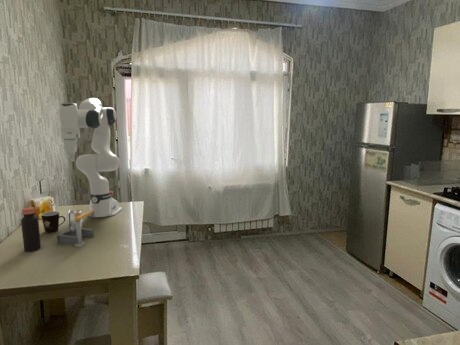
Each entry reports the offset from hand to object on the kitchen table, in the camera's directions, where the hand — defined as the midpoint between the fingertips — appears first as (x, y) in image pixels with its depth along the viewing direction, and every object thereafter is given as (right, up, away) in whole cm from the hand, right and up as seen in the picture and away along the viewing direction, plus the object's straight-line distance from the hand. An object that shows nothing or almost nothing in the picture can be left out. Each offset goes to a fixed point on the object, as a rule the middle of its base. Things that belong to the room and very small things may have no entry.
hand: (72, 161), depth 165 cm
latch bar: (+9, -30, -6) cm, 32 cm away
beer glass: (+3, -41, -3) cm, 41 cm away
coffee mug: (-14, -38, +8) cm, 42 cm away
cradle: (+4, -40, -4) cm, 41 cm away
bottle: (-12, -42, -15) cm, 46 cm away
